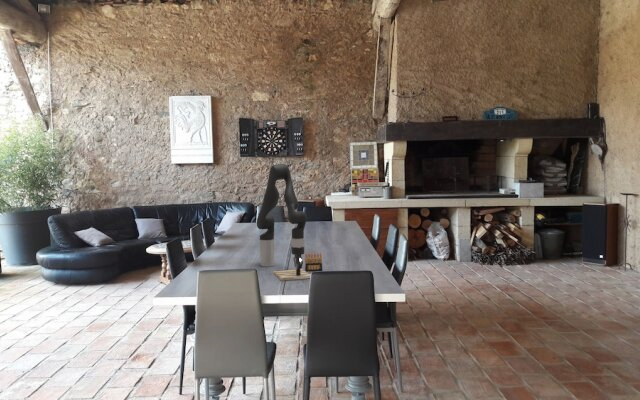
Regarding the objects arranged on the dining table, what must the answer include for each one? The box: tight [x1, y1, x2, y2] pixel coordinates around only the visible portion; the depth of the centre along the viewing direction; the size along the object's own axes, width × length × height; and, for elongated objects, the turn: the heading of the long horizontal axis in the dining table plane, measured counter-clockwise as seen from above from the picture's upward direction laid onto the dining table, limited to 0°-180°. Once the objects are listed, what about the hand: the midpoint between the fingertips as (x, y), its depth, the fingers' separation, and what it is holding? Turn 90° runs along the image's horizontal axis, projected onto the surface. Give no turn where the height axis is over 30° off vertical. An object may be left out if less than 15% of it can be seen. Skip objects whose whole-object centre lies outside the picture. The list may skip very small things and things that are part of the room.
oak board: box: [273, 268, 306, 278], centre depth 304 cm, size 9×18×2 cm, turn 108°
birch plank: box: [276, 272, 311, 282], centre depth 295 cm, size 10×18×2 cm, turn 108°
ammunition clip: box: [304, 251, 323, 273], centre depth 312 cm, size 11×2×12 cm, turn 93°
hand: (298, 275), depth 294 cm, fingers closed
